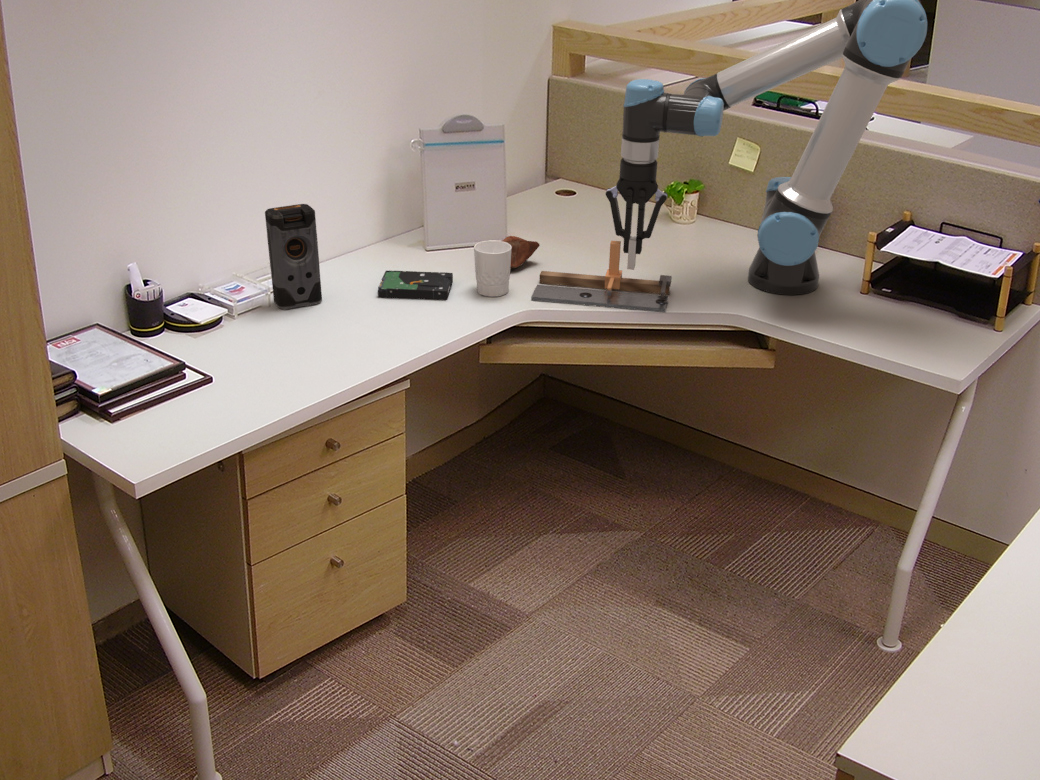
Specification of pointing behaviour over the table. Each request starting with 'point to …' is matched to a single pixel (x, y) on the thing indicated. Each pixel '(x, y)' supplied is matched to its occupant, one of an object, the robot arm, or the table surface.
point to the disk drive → (415, 285)
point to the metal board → (600, 298)
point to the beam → (599, 282)
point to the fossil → (520, 250)
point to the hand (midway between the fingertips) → (631, 267)
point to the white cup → (492, 267)
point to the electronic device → (293, 256)
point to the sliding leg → (613, 268)
